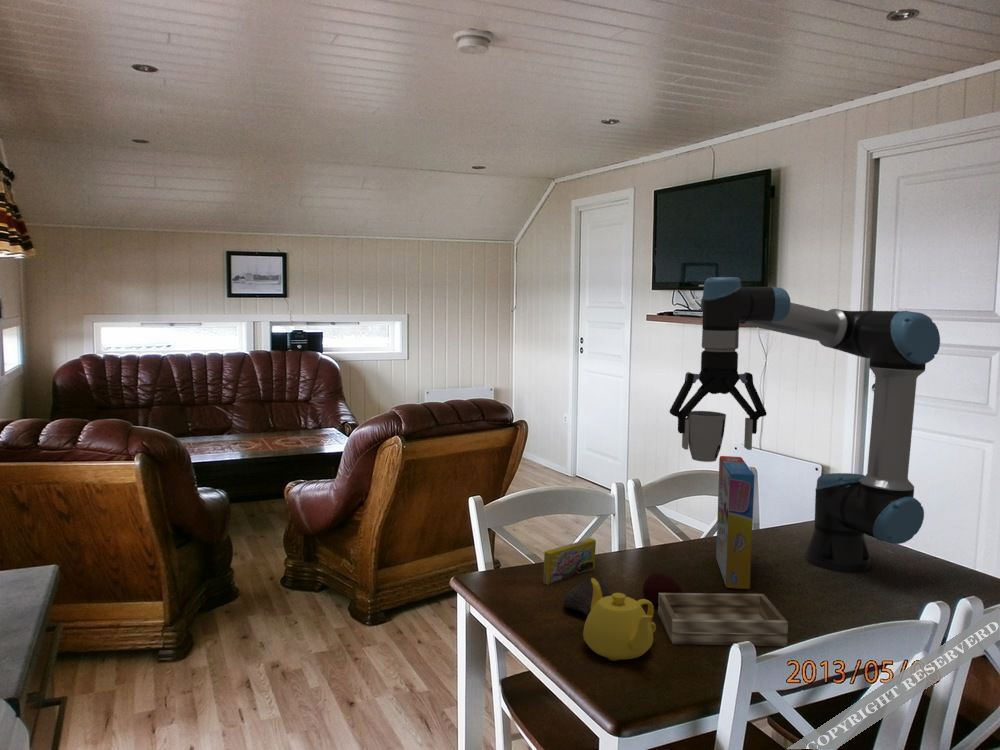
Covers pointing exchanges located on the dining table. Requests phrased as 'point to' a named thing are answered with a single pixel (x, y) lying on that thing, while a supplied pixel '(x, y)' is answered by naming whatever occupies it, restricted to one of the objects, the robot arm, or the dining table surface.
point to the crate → (721, 619)
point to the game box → (735, 521)
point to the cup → (705, 434)
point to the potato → (659, 586)
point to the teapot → (618, 625)
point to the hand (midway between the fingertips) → (716, 448)
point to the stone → (583, 596)
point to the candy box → (569, 561)
